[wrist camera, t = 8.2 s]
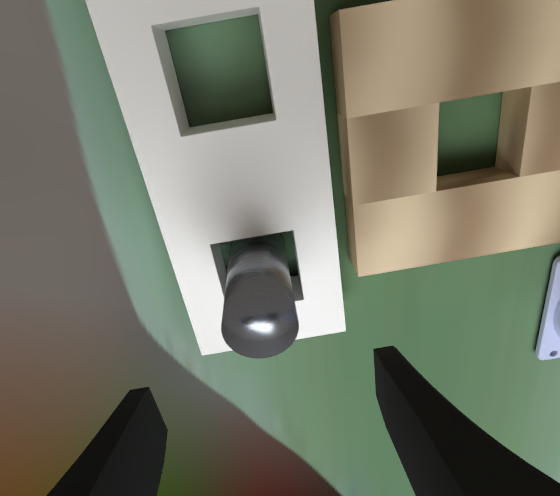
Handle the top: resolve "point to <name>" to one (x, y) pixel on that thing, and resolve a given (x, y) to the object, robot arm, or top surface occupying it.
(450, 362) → the top surface
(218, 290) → the tool rack
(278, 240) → the steel peg
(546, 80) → the socket block
